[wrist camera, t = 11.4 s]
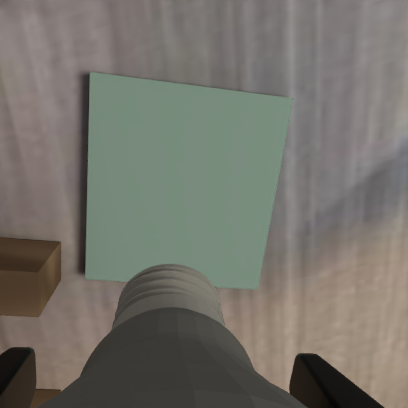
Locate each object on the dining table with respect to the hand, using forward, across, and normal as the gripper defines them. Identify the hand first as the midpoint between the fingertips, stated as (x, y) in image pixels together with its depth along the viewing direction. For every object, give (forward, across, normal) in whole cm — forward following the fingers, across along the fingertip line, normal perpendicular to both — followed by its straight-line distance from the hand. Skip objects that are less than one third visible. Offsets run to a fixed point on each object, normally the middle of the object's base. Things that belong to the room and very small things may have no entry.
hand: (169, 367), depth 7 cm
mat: (+13, -1, 0) cm, 13 cm away
